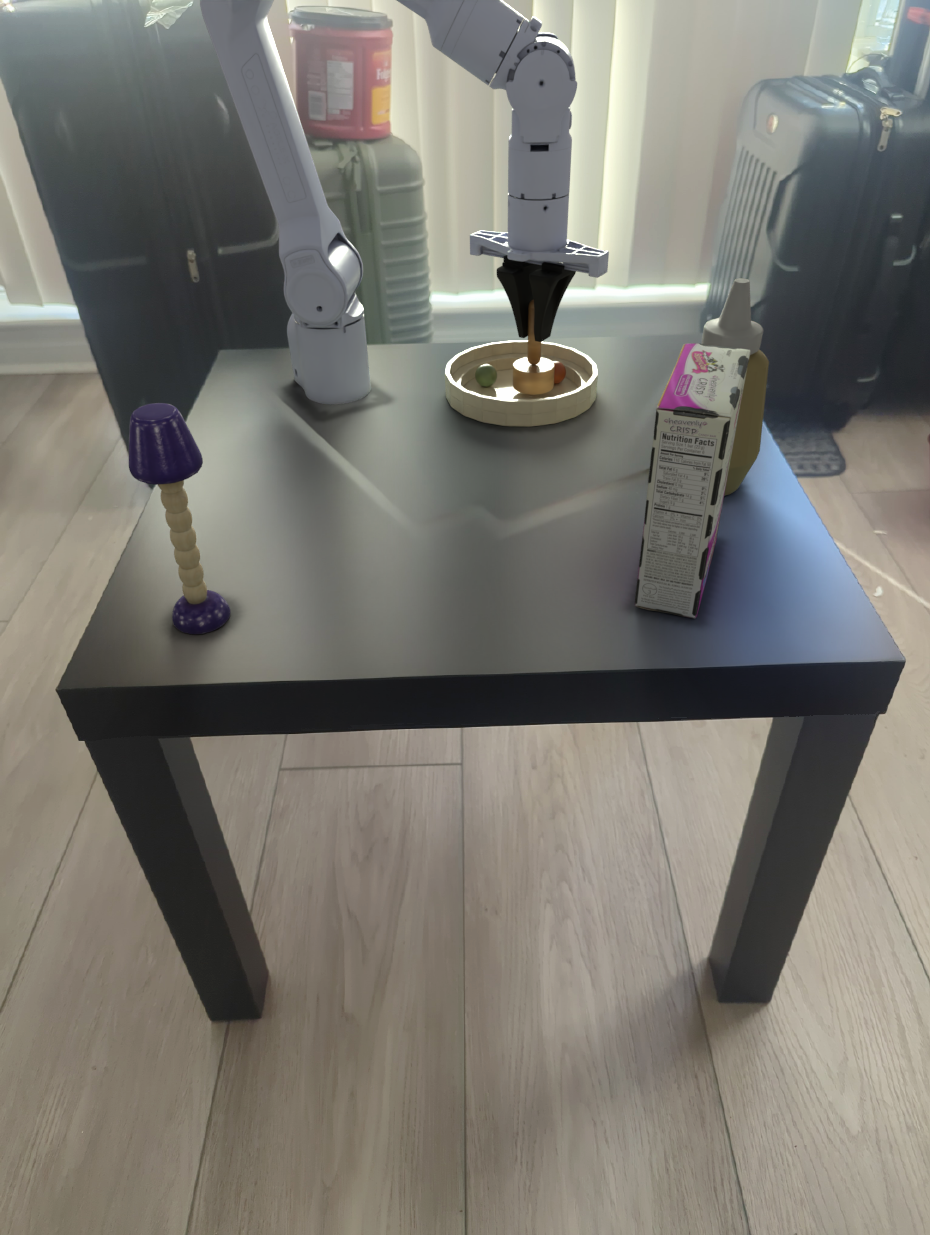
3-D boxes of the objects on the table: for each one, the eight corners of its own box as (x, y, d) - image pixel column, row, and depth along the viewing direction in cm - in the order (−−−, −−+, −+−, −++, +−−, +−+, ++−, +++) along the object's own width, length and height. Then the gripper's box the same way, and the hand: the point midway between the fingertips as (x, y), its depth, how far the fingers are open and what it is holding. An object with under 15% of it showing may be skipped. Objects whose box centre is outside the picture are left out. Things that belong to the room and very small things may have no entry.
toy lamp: (229, 591, 67) (180, 389, 56) (246, 625, 63) (197, 417, 53) (167, 610, 65) (105, 405, 54) (181, 645, 62) (117, 434, 51)
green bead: (471, 384, 94) (470, 363, 92) (489, 379, 95) (489, 358, 93) (482, 392, 92) (482, 371, 91) (501, 387, 93) (501, 366, 92)
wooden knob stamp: (504, 388, 91) (505, 301, 85) (526, 374, 94) (528, 289, 88) (540, 398, 89) (543, 309, 83) (561, 383, 92) (565, 296, 86)
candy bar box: (656, 531, 72) (683, 339, 62) (716, 541, 70) (754, 347, 60) (628, 609, 64) (654, 404, 53) (696, 622, 62) (736, 414, 52)
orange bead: (537, 379, 94) (542, 357, 92) (554, 379, 95) (559, 358, 94) (550, 387, 92) (555, 365, 91) (567, 387, 93) (573, 365, 92)
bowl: (420, 391, 95) (418, 361, 92) (537, 359, 101) (538, 330, 99) (499, 448, 84) (499, 415, 82) (625, 408, 90) (629, 376, 88)
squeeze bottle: (707, 453, 82) (741, 258, 71) (771, 489, 77) (819, 284, 65) (642, 476, 79) (667, 276, 68) (704, 515, 74) (742, 305, 62)
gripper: (450, 193, 80) (454, 335, 89) (586, 212, 74) (577, 364, 82) (491, 177, 85) (492, 314, 93) (623, 195, 78) (611, 340, 87)
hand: (534, 336), depth 88 cm, fingers closed on wooden knob stamp
